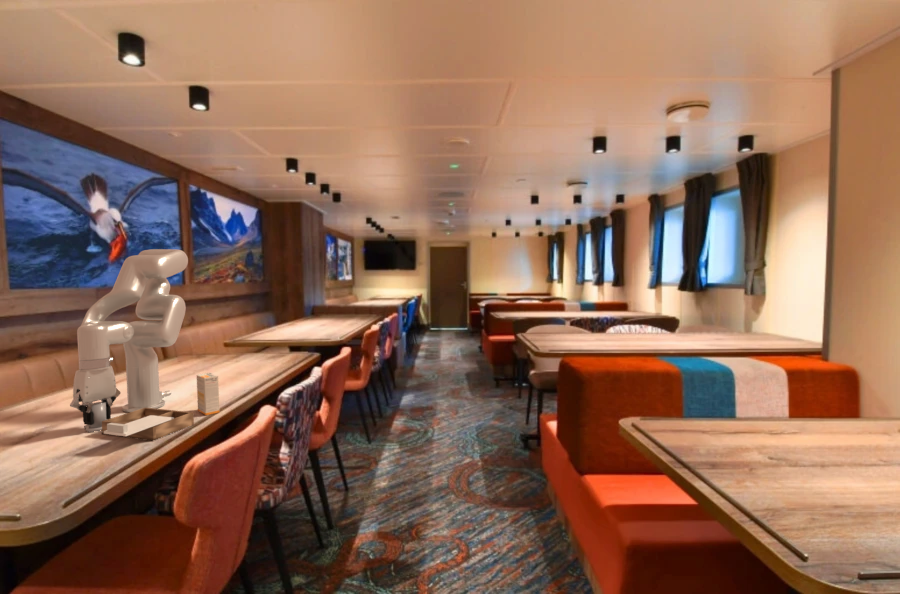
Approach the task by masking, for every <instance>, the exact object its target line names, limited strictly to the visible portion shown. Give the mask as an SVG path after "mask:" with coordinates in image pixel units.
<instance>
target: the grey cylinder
mask: <svg viewBox="0 0 900 594" xmlns="http://www.w3.org/2000/svg"><path fill="white" fill-rule="evenodd" d="M91 412H93V417H94V424H93V425H86V424H84V425H83V429H84V428H86V429H85V430H86V431H88V432H87V433H95V432H94V431H98V432H101V431H100V430H102V421H104V420H107V418H106V402H101V401H98V402H97V401H95V402H93V403H92V408H91Z"/></svg>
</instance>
